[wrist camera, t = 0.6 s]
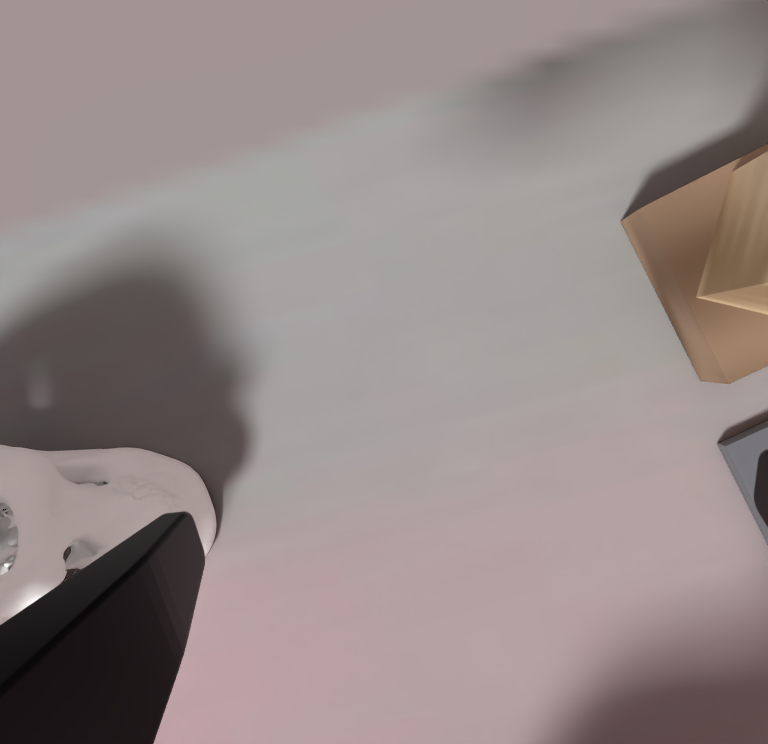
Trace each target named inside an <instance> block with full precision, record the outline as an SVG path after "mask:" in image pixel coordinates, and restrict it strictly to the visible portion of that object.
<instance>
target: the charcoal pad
mask: <svg viewBox="0 0 768 744" xmlns="http://www.w3.org/2000/svg"><path fill="white" fill-rule="evenodd" d="M718 446H719V448H720V450H721V452H722V454H723V456H724V458H725V460H726V462H727V464H728V466H729V468H730V470H731V472H732V474H733V476H734V478H735V480H736V482H737V484H738V486H739V488H740V490H741V492H742V494H743V496H744V498H745V500H746V502H747V504H748V506H749V508H750V510H751V512H752V514H753V516H754V518H755V520H756V522H757V524H758V526H759V528H760V530H761V532H762V534H763V536H764V538H765V540H766V542H767V544H768V527H767V526H766V524H765V522H764V521H763V519H762V518H761V516H760V514H759V513H758V511H757V509H756V506H755V503H754V486H755V478H756V471H757V463H758V458H759V455H760V453H761V452H762V451H764V450H765V449H768V420H767V421H765V422H763V423H761V424H759V425H757V426H754V427H752V428H750V429H748V430H746V431H744V432H742V433H739V434H737V435H735V436H733V437H731V438H729V439H726V440H724V441H722V442H720V443H718Z"/></svg>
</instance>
